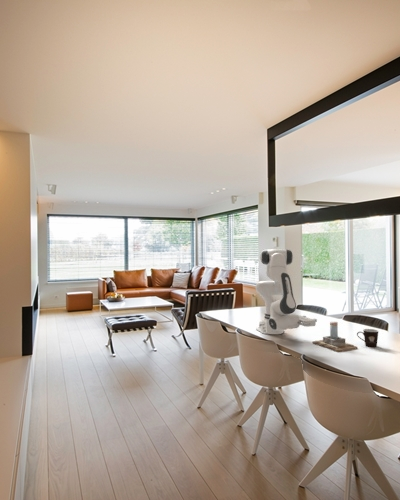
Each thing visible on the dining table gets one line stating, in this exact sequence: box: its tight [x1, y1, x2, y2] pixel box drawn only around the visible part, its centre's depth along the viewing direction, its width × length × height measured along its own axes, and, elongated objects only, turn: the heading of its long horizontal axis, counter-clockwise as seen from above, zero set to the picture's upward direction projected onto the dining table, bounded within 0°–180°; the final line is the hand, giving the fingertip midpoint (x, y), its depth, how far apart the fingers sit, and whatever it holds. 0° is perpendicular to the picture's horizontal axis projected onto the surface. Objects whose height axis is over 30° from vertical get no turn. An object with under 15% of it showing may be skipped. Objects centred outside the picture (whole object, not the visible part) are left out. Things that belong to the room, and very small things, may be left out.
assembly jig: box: [311, 335, 358, 353], centre depth 216 cm, size 22×16×5 cm
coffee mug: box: [356, 328, 379, 349], centre depth 216 cm, size 12×9×10 cm
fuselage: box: [329, 321, 339, 340], centre depth 216 cm, size 4×4×14 cm
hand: (310, 318), depth 214 cm, fingers open, 8 cm apart
